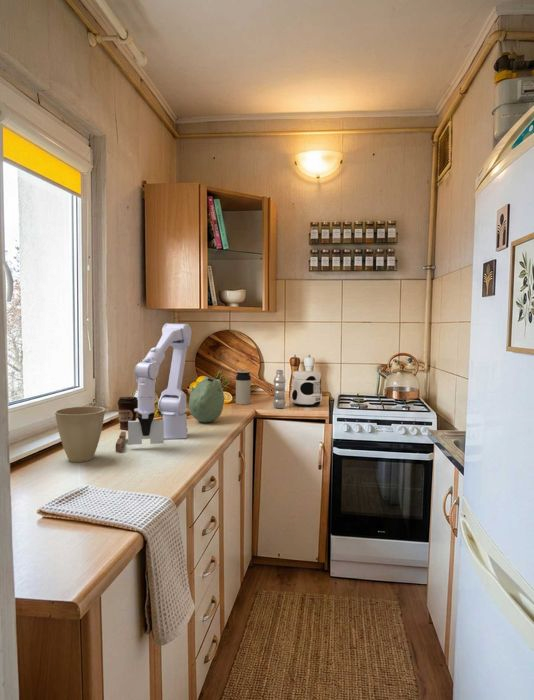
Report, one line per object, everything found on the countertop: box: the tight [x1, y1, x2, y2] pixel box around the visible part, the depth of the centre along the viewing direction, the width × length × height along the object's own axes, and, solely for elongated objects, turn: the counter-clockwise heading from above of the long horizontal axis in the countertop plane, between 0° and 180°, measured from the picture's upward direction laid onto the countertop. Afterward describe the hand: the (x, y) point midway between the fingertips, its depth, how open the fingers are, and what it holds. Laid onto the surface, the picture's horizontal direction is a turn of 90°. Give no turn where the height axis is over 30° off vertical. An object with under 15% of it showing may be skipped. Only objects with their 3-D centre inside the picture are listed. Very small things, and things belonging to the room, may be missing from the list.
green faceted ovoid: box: [187, 376, 225, 424], centre depth 211 cm, size 16×19×20 cm
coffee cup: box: [117, 396, 139, 430], centre depth 196 cm, size 9×8×13 cm
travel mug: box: [235, 369, 252, 406], centre depth 260 cm, size 8×8×18 cm
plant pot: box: [54, 405, 106, 463], centre depth 153 cm, size 15×15×16 cm
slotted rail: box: [115, 430, 127, 453], centre depth 170 cm, size 2×18×3 cm, turn 11°
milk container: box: [290, 370, 323, 407], centre depth 259 cm, size 17×17×18 cm
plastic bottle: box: [272, 369, 287, 409], centre depth 248 cm, size 6×7×20 cm
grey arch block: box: [127, 419, 165, 446], centre depth 167 cm, size 12×2×8 cm, turn 101°
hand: (146, 434), depth 167 cm, fingers closed on grey arch block, 2 cm apart
